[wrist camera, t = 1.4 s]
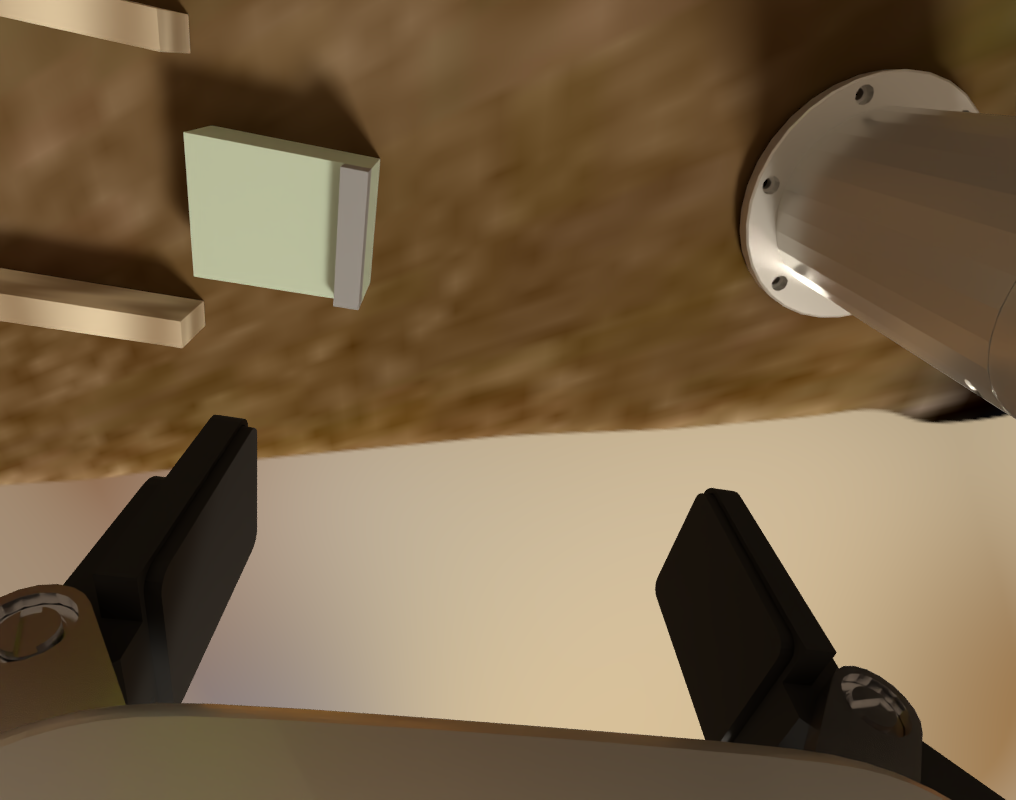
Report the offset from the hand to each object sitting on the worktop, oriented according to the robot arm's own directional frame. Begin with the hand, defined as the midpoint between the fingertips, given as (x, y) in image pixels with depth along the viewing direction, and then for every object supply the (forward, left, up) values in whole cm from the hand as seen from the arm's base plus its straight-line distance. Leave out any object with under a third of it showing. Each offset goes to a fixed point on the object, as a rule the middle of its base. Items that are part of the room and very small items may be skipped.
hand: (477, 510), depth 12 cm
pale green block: (+9, 0, -22) cm, 24 cm away
